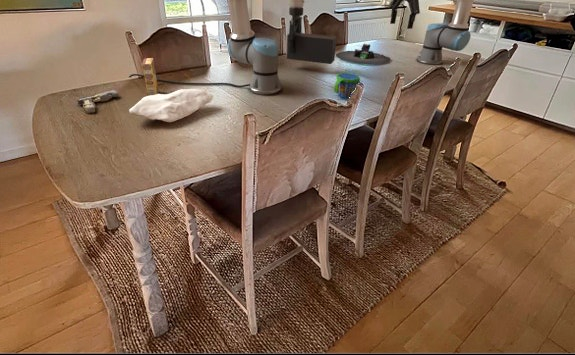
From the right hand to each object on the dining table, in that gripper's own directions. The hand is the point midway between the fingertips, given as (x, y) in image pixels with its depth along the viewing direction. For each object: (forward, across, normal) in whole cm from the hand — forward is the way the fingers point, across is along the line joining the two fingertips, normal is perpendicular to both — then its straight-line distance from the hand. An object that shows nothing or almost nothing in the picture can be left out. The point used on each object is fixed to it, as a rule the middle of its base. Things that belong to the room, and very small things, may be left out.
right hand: (400, 26), depth 188 cm
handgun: (+27, +9, +147) cm, 150 cm away
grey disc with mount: (+27, +40, -8) cm, 49 cm away
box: (+21, +26, +38) cm, 50 cm away
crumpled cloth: (+27, -12, +121) cm, 125 cm away
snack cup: (+27, -19, +42) cm, 53 cm away
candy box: (+27, +13, +125) cm, 129 cm away
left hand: (+17, +32, +45) cm, 58 cm away
